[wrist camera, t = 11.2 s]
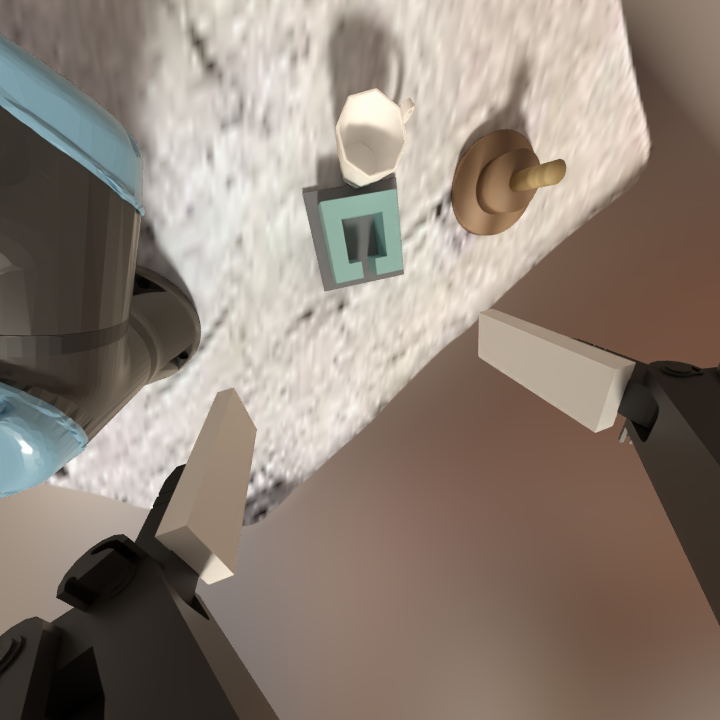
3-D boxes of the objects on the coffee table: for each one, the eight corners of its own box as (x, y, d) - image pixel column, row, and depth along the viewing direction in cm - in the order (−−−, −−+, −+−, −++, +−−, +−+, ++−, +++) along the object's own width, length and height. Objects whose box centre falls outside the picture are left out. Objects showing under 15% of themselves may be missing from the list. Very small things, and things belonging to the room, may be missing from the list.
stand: (451, 242, 38) (500, 244, 29) (451, 140, 33) (512, 102, 24) (522, 227, 40) (590, 225, 31) (534, 127, 34) (621, 88, 25)
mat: (324, 290, 37) (324, 291, 37) (302, 193, 32) (302, 193, 31) (402, 273, 39) (403, 274, 38) (394, 178, 33) (395, 177, 33)
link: (317, 205, 32) (320, 201, 29) (385, 193, 33) (396, 188, 30) (332, 278, 36) (336, 283, 33) (393, 266, 37) (403, 269, 34)
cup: (316, 161, 31) (319, 123, 23) (379, 100, 30) (403, 41, 22) (354, 213, 33) (368, 195, 25) (413, 158, 32) (445, 122, 25)
